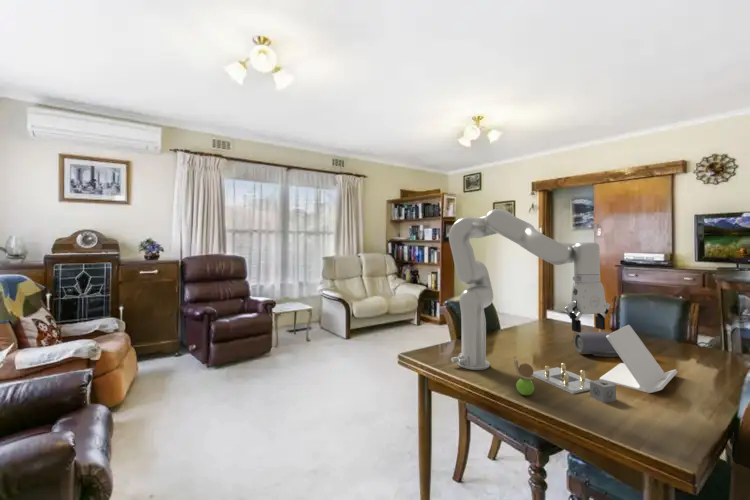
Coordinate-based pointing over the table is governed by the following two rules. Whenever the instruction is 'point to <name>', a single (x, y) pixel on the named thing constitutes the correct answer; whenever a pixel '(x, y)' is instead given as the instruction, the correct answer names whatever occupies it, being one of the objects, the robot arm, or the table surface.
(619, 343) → the tablet stand
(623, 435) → the table surface
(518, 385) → the snail figurine
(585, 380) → the chassis plate
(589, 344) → the bluetooth speaker
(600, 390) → the dice cube
